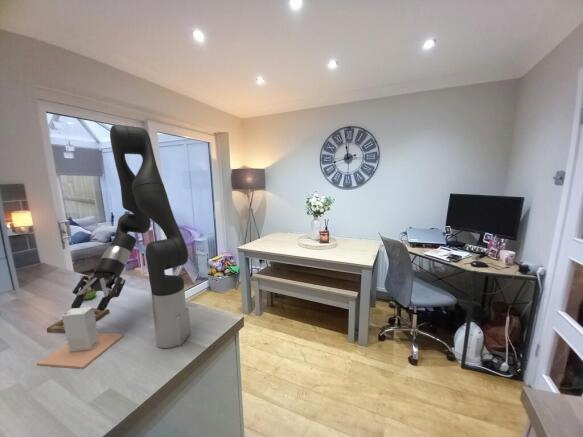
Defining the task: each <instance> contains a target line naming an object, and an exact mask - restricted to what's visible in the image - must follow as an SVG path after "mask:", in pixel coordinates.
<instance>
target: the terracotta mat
mask: <svg viewBox="0 0 583 437" xmlns="http://www.w3.org/2000/svg"><path fill="white" fill-rule="evenodd" d="M98 336H99V342H98V343H97V344H96V345H95V346H94V347H93V348H92V349H91V350H82V351H73V352H69V347H68V343H66V344H64V345H62V346H61V347H60V348H58V349H57V350H55V351H54V352H52V353H51V354H49V355H48V356H46V357H45V358H43V359H42V360H40V361H39V362H37V363H36V365H37V366H41V367H56V368H69V369H80V370H81V369H82V370H84V369H85V368H86V367H87V366H89V365H90V364H91V363H92V362H94V361H95V360H96V359H97V358H99V357H101V355H102V354H104V353H105V352H106V351H108V350H109V349H110V348H111V347H112V346H113V345H115V344H116V343H117V342H118V341H119V340H121V339H122V338H123V337H124V336H125V335H124V333H109V332H108V333H107V332H105V333H104V332H98Z"/></svg>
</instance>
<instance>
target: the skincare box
mask: <svg viewBox="0 0 583 437" xmlns="http://www.w3.org/2000/svg"><path fill="white" fill-rule="evenodd" d="M94 309H95V307H94V306H88V307H87V306H86V307H80V308H71V309H69V310H68V311H66V312H65V313H64V314H63V315H62V316H61V318H62V319H63V324H64V325H63V326H64V328H65V333H64V334H65V337H66V341H67V343H68V347H69V352H73V351H82V350H91V349H92V348H93V347H94V346H95V345H96V344H97V343H98V342H99V336H98V333H99V332H98V325H97V321H96V319H95V315H96V314H94ZM62 319H61V320H62ZM67 343H66V344H67Z"/></svg>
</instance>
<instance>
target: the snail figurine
mask: <svg viewBox="0 0 583 437" xmlns="http://www.w3.org/2000/svg"><path fill="white" fill-rule="evenodd" d="M83 276H84V275H82V274H81V275H79V278H80V279H79V281H80V280H81V278H82V277H83ZM86 276H87V277H92V276H91V275H86ZM89 288H90V289H91V287H89ZM85 292H87V291H85ZM85 292H84V293H85ZM97 293H98V291H94V292H93V293H90V294H89V295H87V296H86V297H85V299H84V300H90V299H92V298H95V296H96V295H97Z"/></svg>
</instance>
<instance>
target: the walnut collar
mask: <svg viewBox="0 0 583 437" xmlns="http://www.w3.org/2000/svg"><path fill="white" fill-rule="evenodd" d="M94 314H95V319H96V322H98V321H99V320H101V319H102V318H104V317H105V316H106V317H107V315H109V314H110V309H107V308H106V309H104V311H99V310H97V308H94ZM46 332H47V333H52V334H54V333H55V334H66V333H65V328H64V324H63V319H61V320H59V321H57V322H55V323H53V324H52V325H50V326H48V327H46Z"/></svg>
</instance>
